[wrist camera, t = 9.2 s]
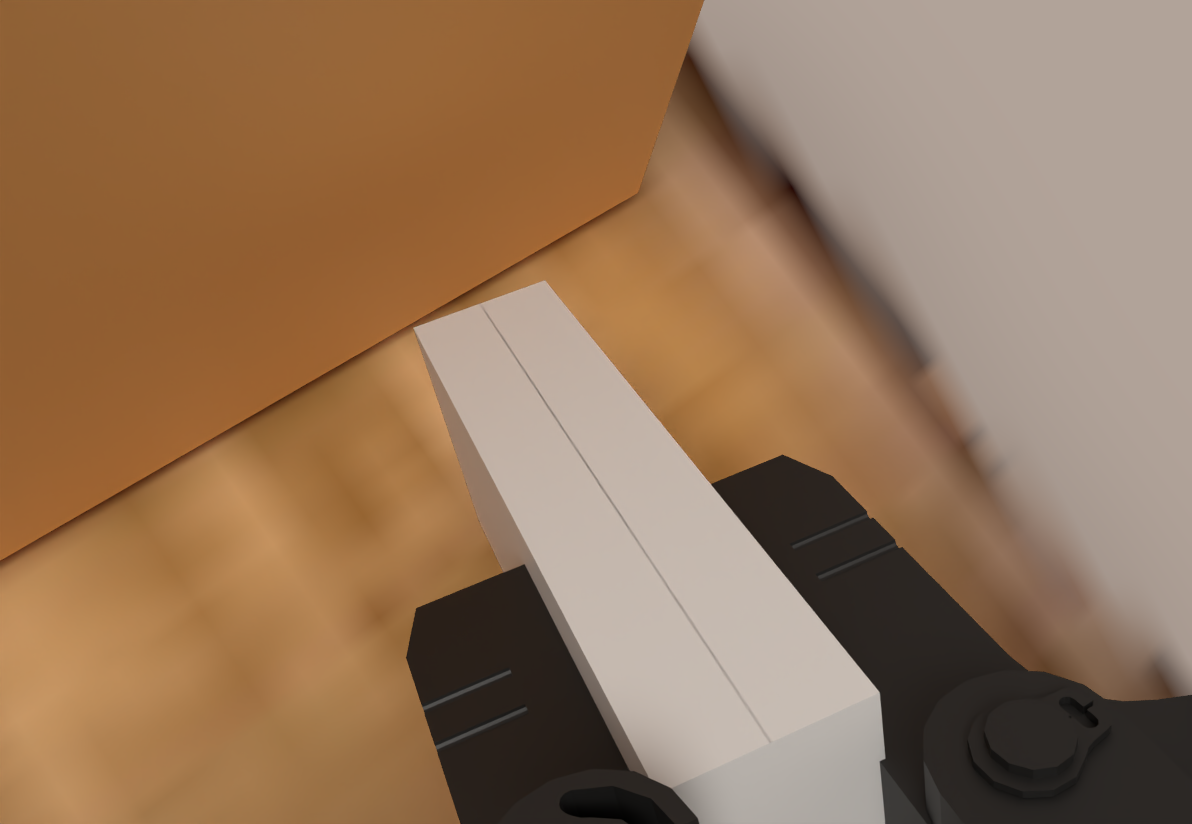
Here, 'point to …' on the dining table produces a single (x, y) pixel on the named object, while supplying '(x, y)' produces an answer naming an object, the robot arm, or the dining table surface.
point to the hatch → (277, 199)
